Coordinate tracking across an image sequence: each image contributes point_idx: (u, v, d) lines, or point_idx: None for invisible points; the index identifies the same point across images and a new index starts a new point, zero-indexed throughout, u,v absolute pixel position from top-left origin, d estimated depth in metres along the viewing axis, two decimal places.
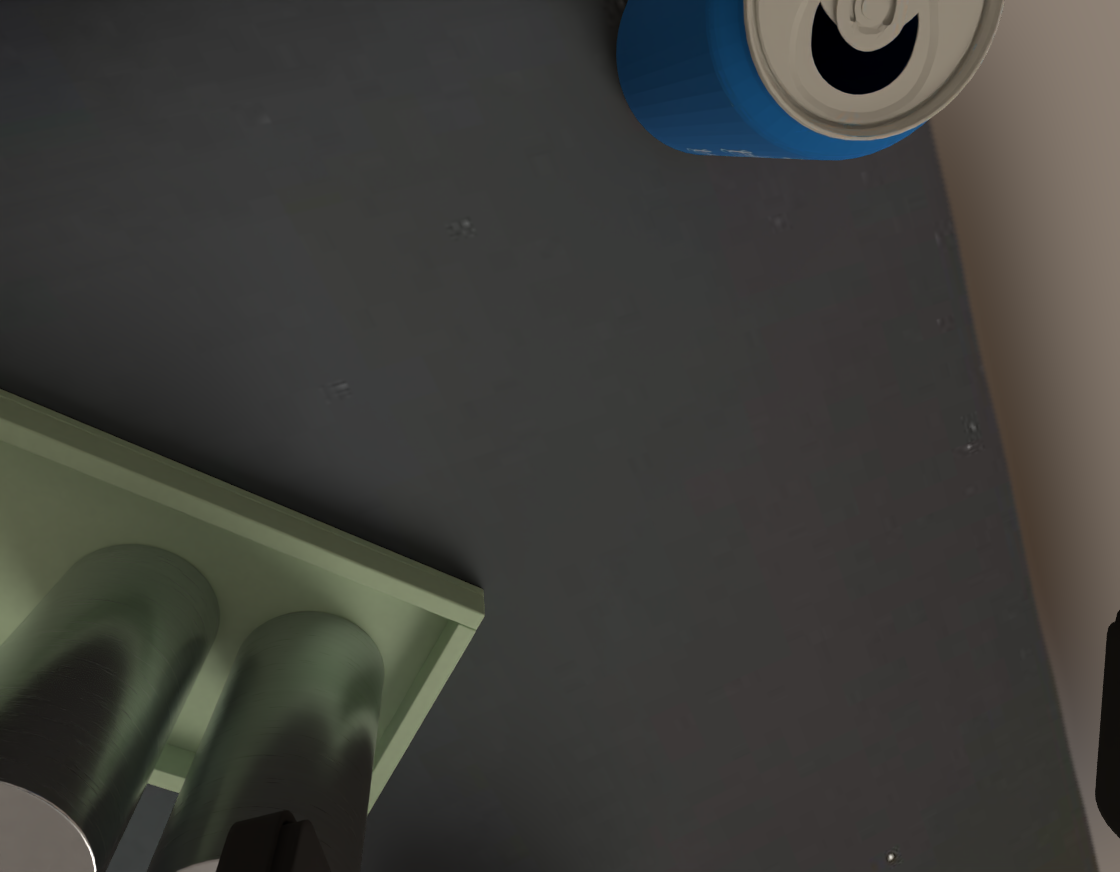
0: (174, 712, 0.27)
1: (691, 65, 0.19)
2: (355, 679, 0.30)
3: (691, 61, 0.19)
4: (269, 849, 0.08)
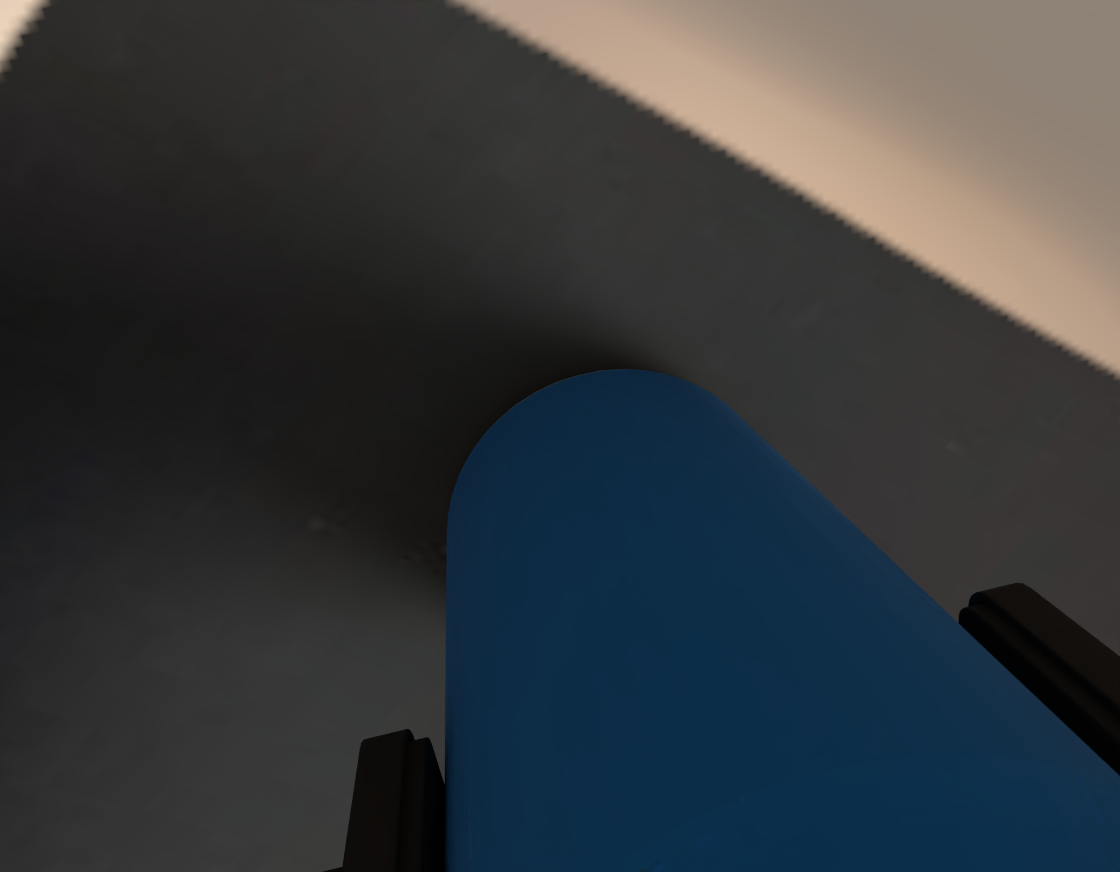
0: None
1: None
2: None
3: None
4: (403, 758, 0.09)
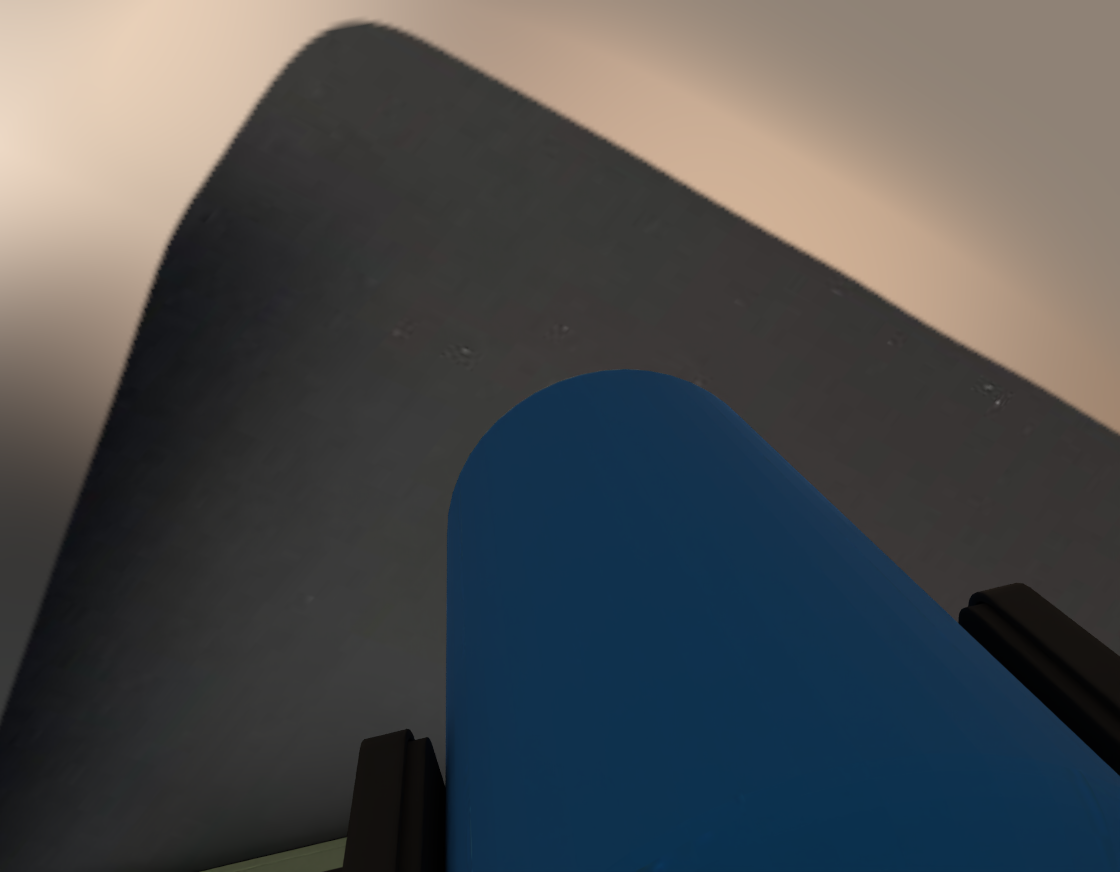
0: None
1: None
2: None
3: None
4: (402, 758, 0.09)
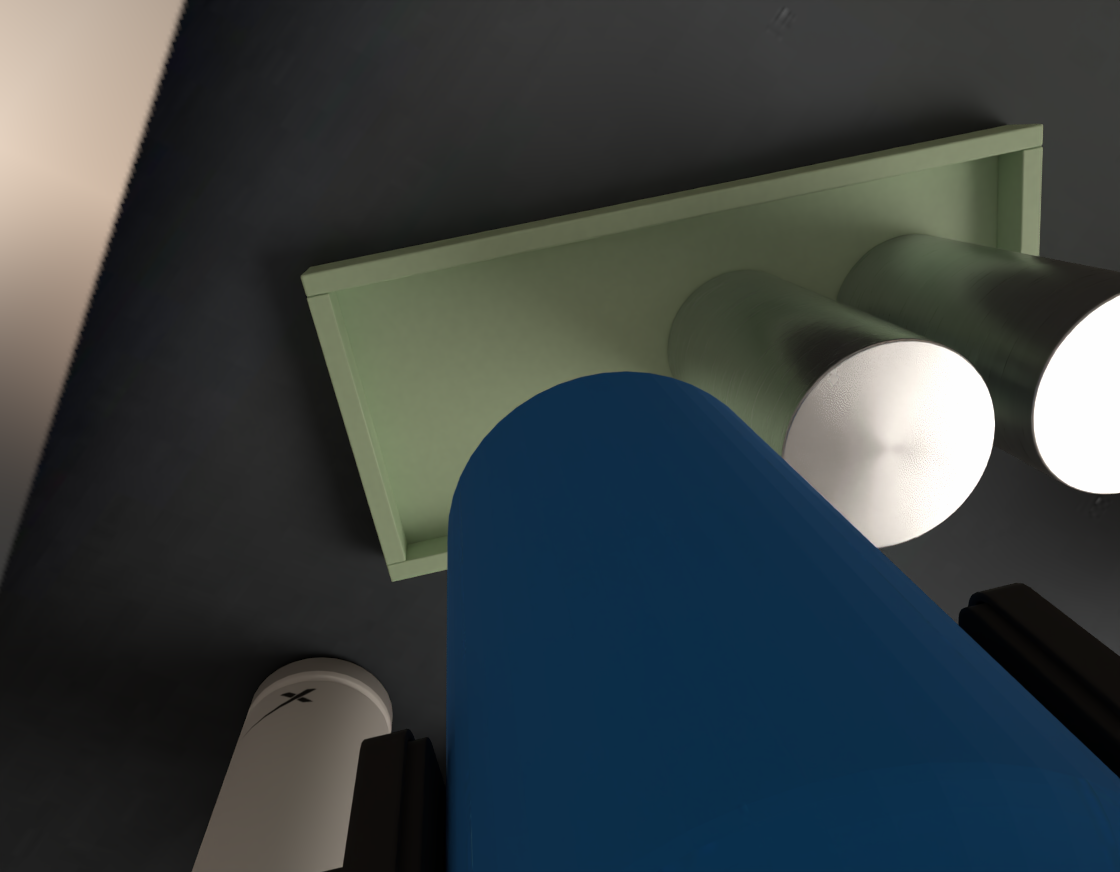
0: None
1: None
2: None
3: None
4: (402, 758, 0.09)
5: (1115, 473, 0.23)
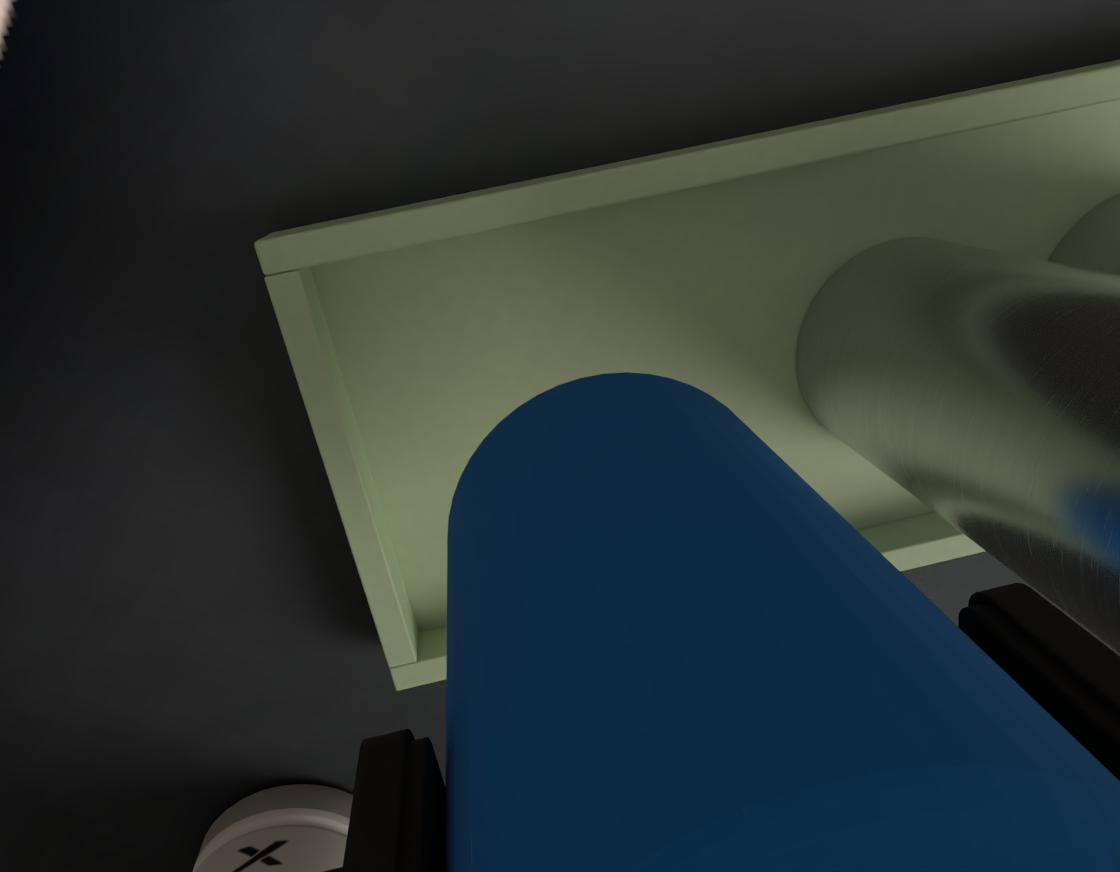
0: None
1: None
2: None
3: None
4: (403, 758, 0.09)
5: None
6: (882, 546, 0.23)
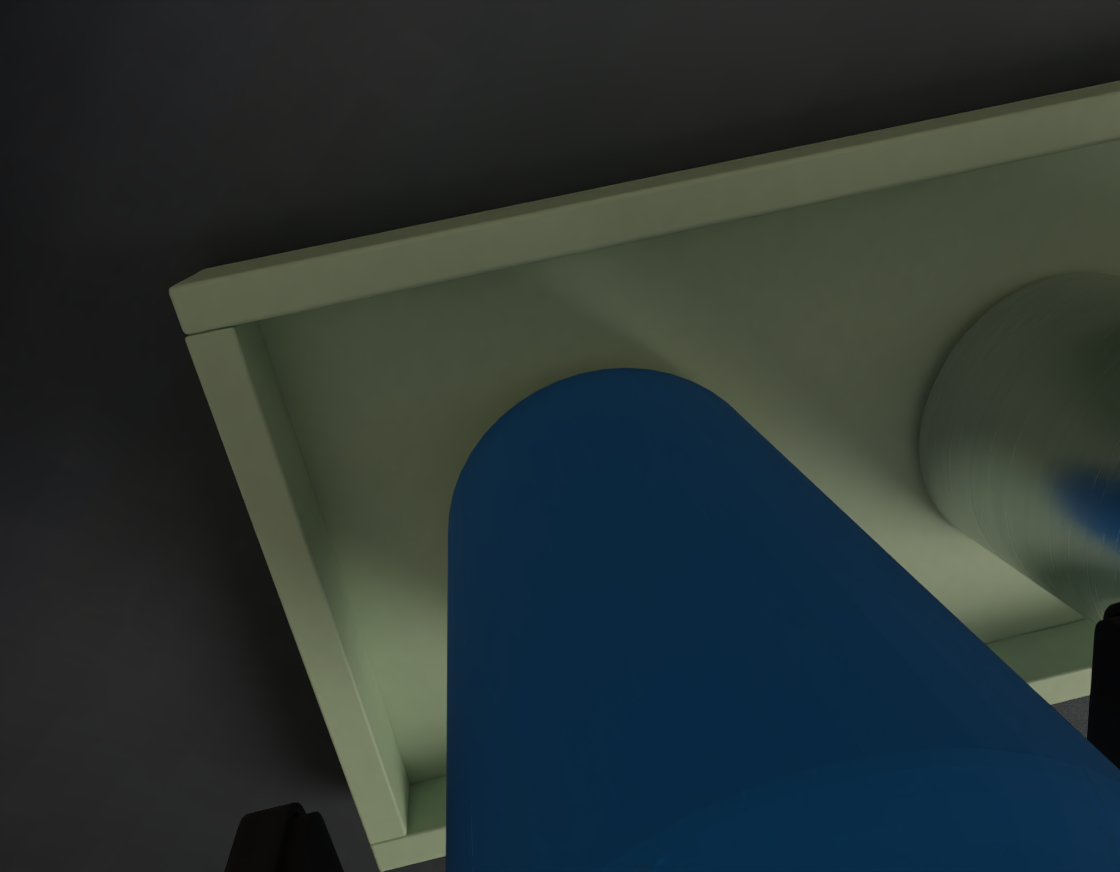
0: None
1: None
2: None
3: None
4: (280, 841, 0.08)
5: None
6: (1019, 673, 0.18)
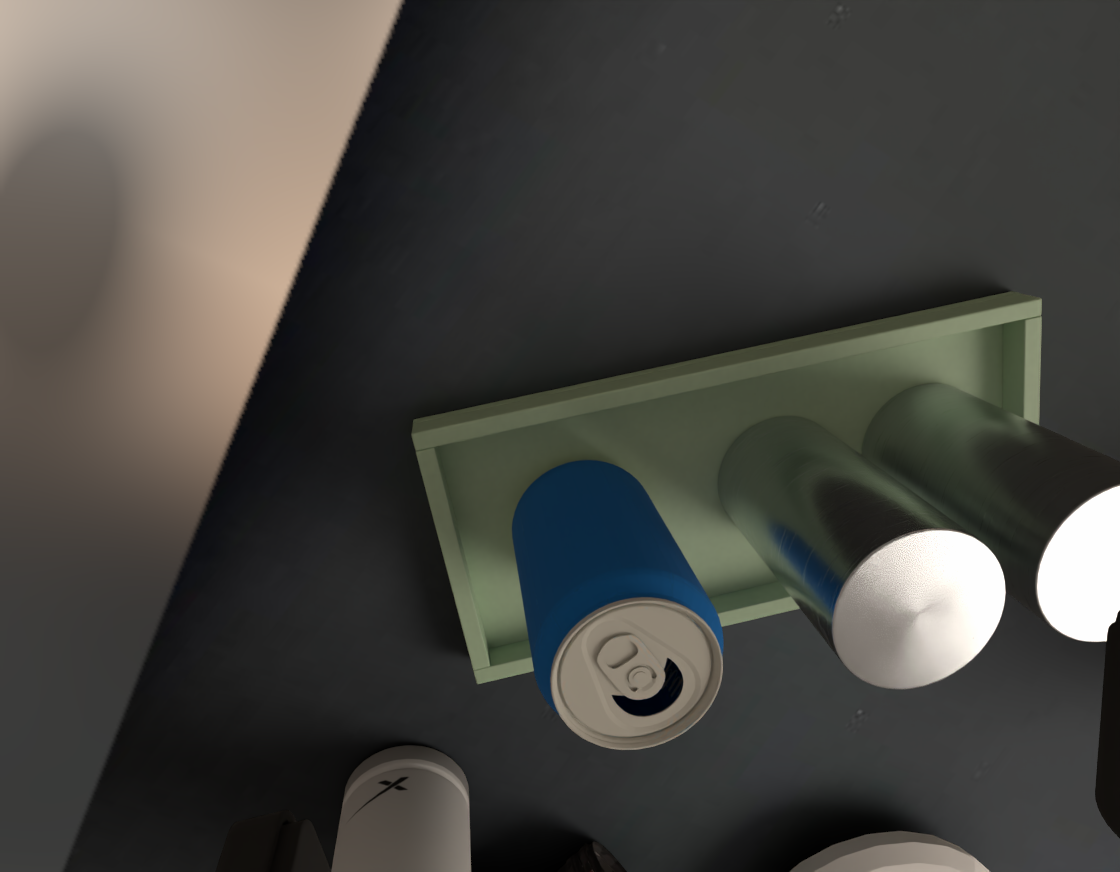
0: None
1: None
2: (987, 403, 0.34)
3: None
4: (269, 849, 0.08)
5: (1105, 625, 0.27)
6: (773, 596, 0.38)
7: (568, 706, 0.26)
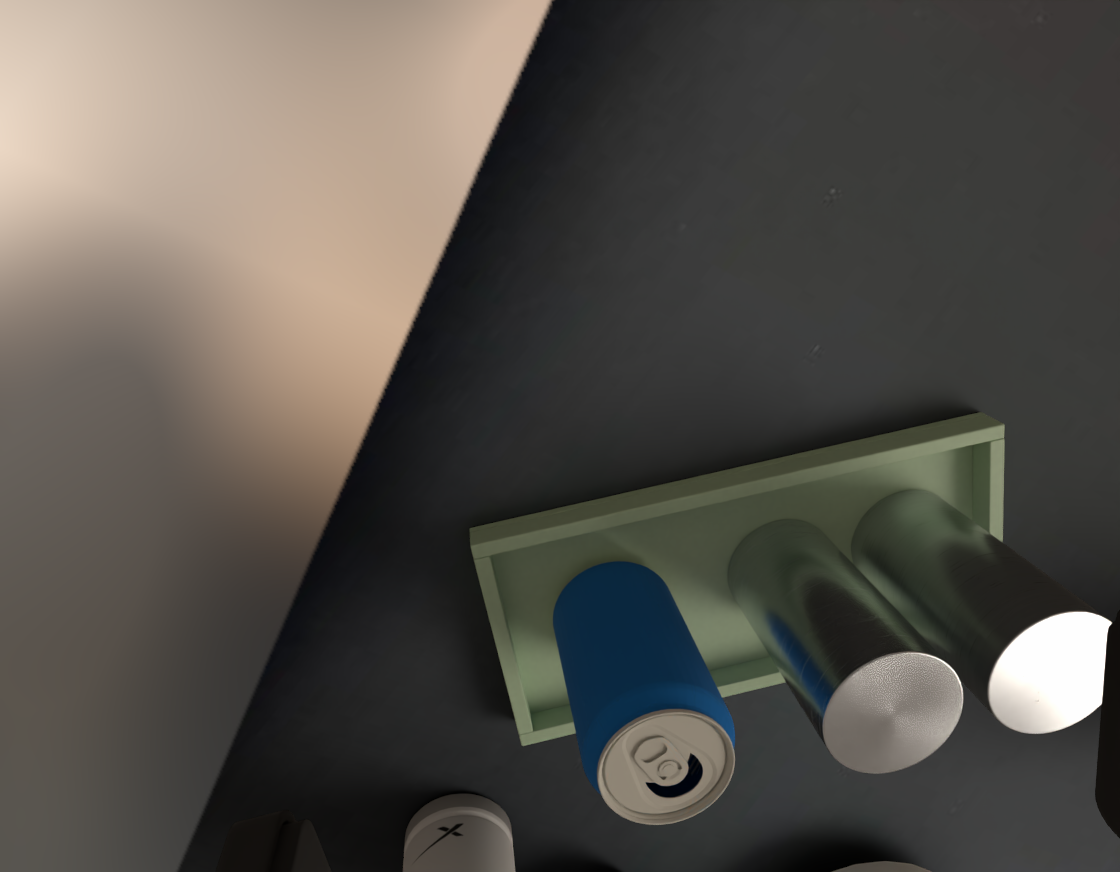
0: None
1: None
2: (956, 516, 0.40)
3: None
4: (269, 849, 0.08)
5: (1045, 721, 0.34)
6: (774, 669, 0.44)
7: (610, 792, 0.32)
